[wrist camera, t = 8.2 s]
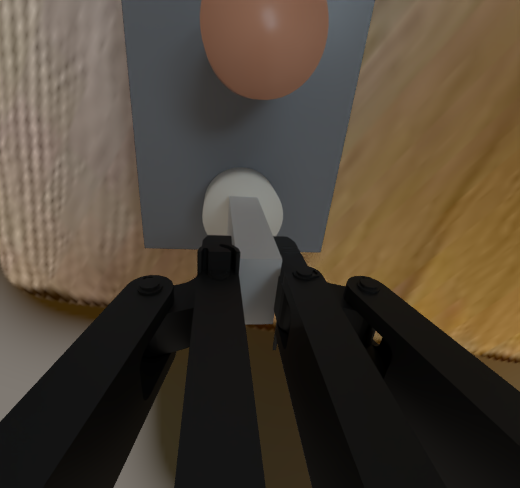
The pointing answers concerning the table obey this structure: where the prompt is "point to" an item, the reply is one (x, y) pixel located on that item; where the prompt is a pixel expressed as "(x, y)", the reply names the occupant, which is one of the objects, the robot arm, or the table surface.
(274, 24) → the rust knob middle
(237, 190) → the cream knob
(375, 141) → the table surface
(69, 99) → the table surface
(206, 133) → the knob panel
